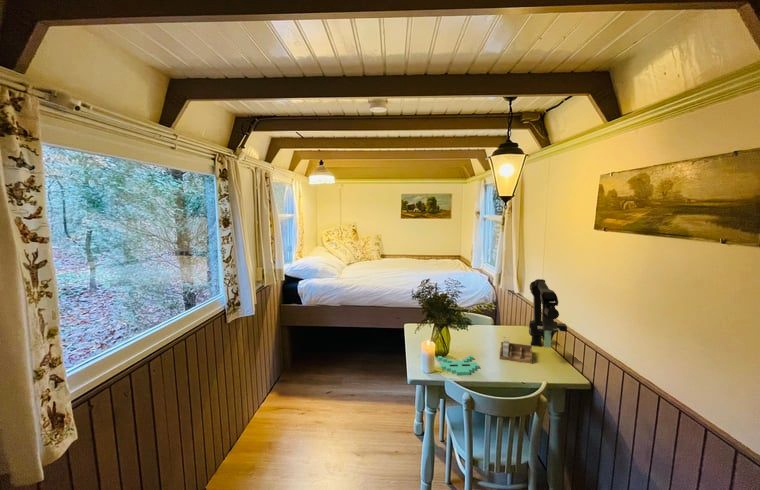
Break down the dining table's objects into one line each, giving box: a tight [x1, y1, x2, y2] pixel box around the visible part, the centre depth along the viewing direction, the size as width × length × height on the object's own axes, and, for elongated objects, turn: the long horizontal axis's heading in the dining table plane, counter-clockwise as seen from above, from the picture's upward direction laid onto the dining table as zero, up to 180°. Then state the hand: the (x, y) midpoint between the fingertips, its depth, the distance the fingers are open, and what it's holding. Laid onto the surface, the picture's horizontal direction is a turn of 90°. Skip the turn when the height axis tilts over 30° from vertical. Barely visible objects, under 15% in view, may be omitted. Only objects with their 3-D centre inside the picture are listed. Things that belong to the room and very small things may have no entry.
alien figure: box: [437, 354, 480, 376], centre depth 185 cm, size 20×2×20 cm
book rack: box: [499, 338, 533, 365], centre depth 196 cm, size 14×17×8 cm
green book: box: [543, 330, 552, 349], centre depth 188 cm, size 10×3×8 cm, turn 156°
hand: (547, 340), depth 188 cm, fingers closed on green book, 3 cm apart
